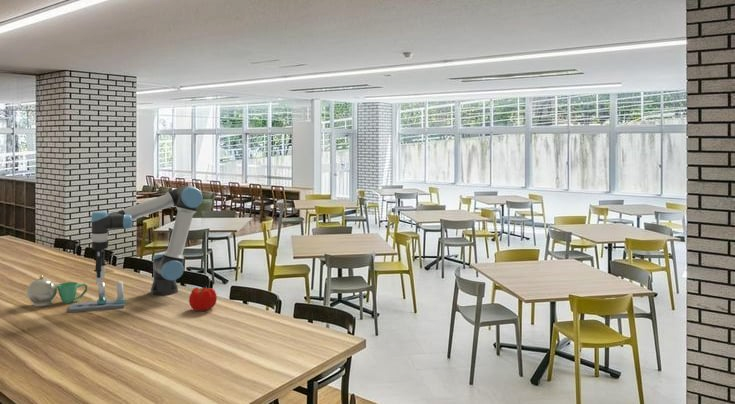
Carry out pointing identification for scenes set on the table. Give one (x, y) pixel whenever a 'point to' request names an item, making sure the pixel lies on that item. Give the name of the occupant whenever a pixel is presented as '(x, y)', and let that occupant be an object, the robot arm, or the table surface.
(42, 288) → the teapot
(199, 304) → the tomato
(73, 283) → the mug
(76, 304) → the grey and teal piece
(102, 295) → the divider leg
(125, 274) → the table surface
